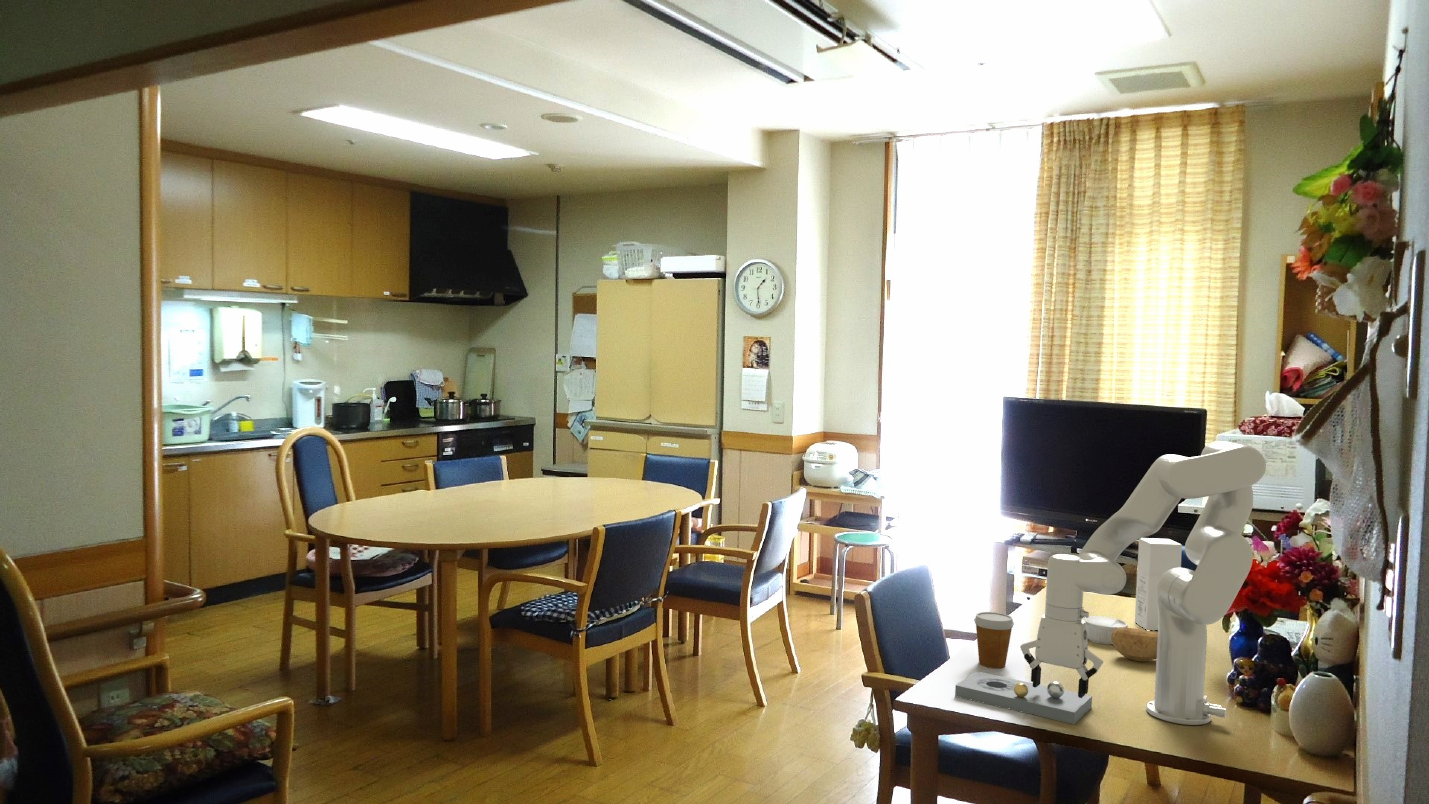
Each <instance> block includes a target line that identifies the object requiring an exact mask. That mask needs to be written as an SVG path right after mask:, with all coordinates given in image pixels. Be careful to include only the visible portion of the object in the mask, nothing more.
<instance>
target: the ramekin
mask: <svg viewBox="0 0 1429 804" xmlns="http://www.w3.org/2000/svg"><path fill="white" fill-rule="evenodd" d="M1082 620H1084V621H1085V622H1086V627H1087V638H1088V640H1089V641H1091V642H1092V641H1094V642H1093V643H1096V644H1101V645H1107V644H1113V643H1112V641H1111V635H1112V633H1113V631H1114V630H1115V629H1117V628H1119V627H1128V628H1129V625H1128V623H1127V622H1126V621H1124V620H1122V619H1119V618H1115V617H1110V616H1102V615H1101V616H1099V615H1093V616H1092V615H1089V617H1088V618H1083V619H1082Z"/></svg>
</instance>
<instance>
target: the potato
mask: <svg viewBox="0 0 1429 804" xmlns="http://www.w3.org/2000/svg"><path fill="white" fill-rule="evenodd" d="M1111 641H1112V643H1113V645H1112V646H1113V647H1114V648H1115V650H1116V651H1117V652H1118V653H1119V654H1120V655H1122V656H1123V657H1125V658H1126V659H1130V660H1132V661H1134V662H1135V661H1136V662H1149V661H1153V660H1157V641H1158V631H1147V630H1145V629H1144V628H1134V627H1133V628H1132V627H1129V626H1128V627H1119V628H1117V629H1115V630H1114V631H1113V633H1112V635H1111Z"/></svg>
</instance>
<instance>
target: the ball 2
mask: <svg viewBox="0 0 1429 804" xmlns="http://www.w3.org/2000/svg"><path fill="white" fill-rule="evenodd" d="M1046 686H1047V692H1048V694H1049V695H1050V696H1051V697H1053V698H1060V697H1061V696H1062V695H1063V694H1064V690H1065V688H1064V686H1063V684H1062V683H1060V682H1059V681H1050V683H1048V685H1046Z"/></svg>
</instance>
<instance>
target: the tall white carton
mask: <svg viewBox="0 0 1429 804" xmlns="http://www.w3.org/2000/svg"><path fill="white" fill-rule="evenodd" d="M1182 549H1183V544H1181V543H1179V542H1177V541H1174V540H1172V539H1170V538H1155V537H1154V538H1153V537H1152V538H1151V537H1150V538H1149V537H1143V538H1141V539H1138V551H1137V552H1138V553H1137V556H1138V558H1137V569H1136V589H1135V610H1134V612H1135V613H1134V623H1135V624H1136V623H1137V624H1136V625H1138V626H1139V627H1141V628H1142V627H1143V628H1142V629H1143V630H1145V629H1146V630H1158V608H1157V599H1156V589H1157V584H1158V581H1159V579H1160V577H1161V576H1162V575H1163V574H1164V573H1165V572H1166V571H1168V570H1170V569H1173V568H1182V551H1183V550H1182Z"/></svg>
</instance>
